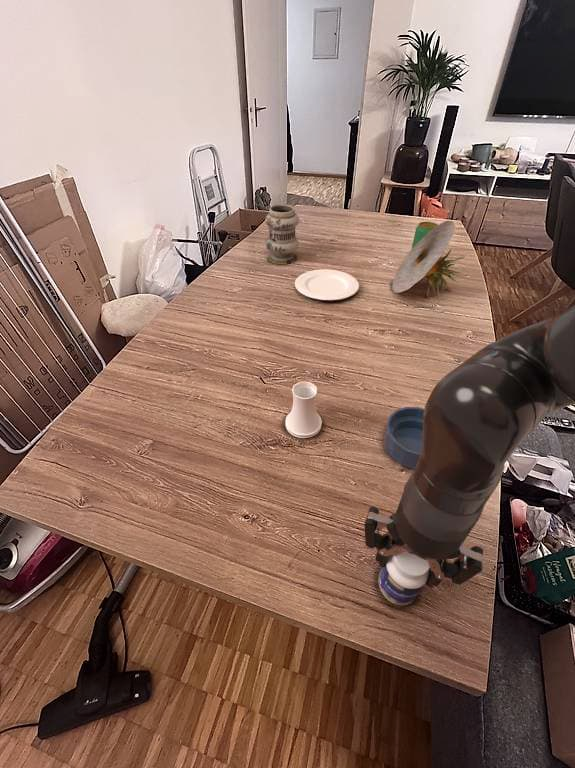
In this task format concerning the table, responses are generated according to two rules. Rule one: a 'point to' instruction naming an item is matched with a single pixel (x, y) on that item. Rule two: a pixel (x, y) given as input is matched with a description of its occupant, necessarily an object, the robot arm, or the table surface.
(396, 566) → the pill bottle
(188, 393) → the table surface
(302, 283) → the plate
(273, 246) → the apothecary jar
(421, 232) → the beverage can
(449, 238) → the potted plant
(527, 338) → the robot arm
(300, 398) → the vase
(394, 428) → the bowl
